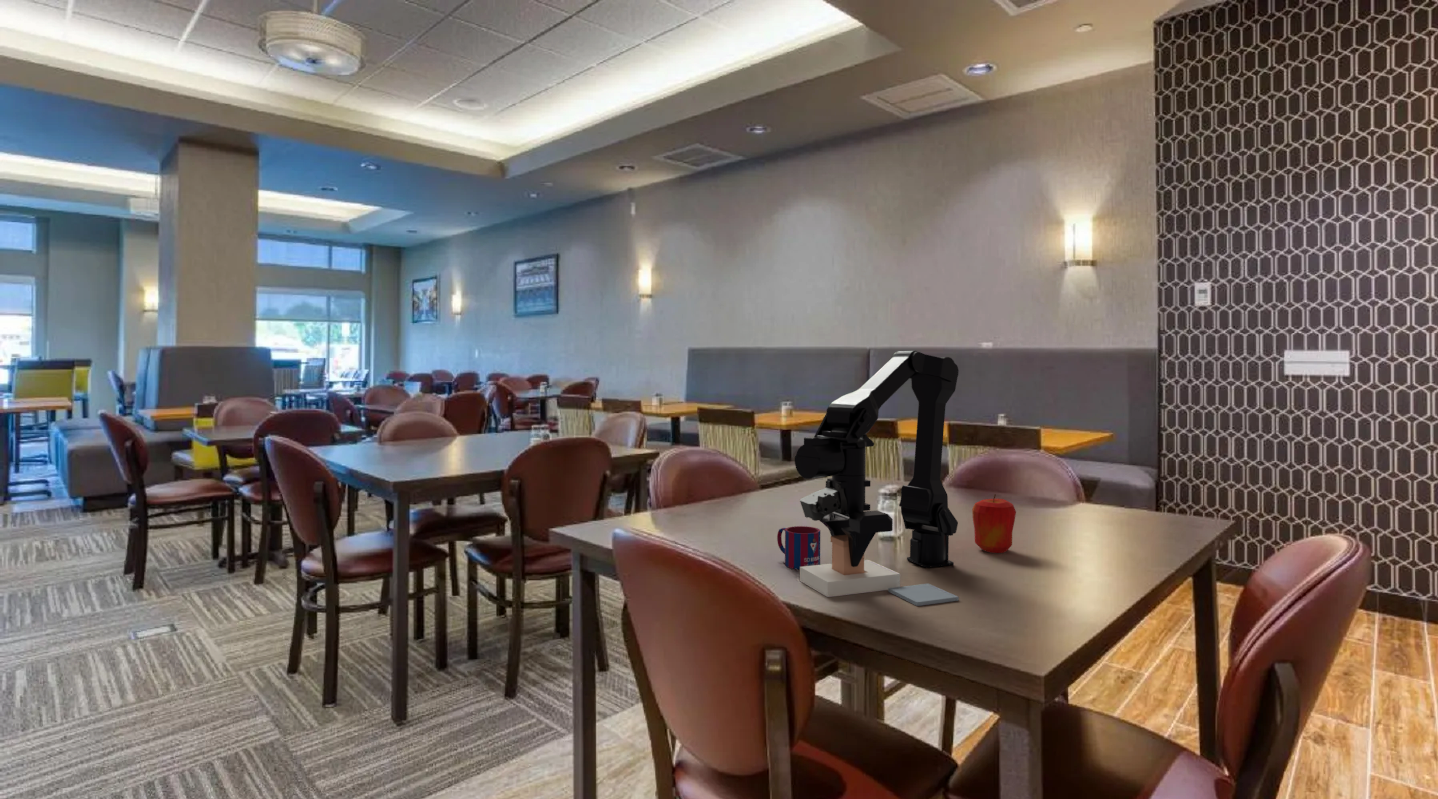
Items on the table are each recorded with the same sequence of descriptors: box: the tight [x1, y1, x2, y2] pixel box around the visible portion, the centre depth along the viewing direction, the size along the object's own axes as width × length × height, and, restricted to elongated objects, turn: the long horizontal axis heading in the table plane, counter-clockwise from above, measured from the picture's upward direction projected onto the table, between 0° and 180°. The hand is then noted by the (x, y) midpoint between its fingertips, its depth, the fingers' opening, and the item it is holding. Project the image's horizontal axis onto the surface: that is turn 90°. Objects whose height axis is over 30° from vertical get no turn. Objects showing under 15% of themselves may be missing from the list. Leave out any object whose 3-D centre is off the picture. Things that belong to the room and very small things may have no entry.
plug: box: [830, 535, 865, 575], centre depth 128 cm, size 4×4×8 cm
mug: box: [776, 525, 821, 570], centre depth 143 cm, size 7×10×7 cm
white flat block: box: [799, 559, 901, 598], centre depth 128 cm, size 14×10×2 cm
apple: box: [971, 494, 1017, 554], centre depth 152 cm, size 9×8×12 cm
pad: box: [887, 583, 960, 607], centre depth 122 cm, size 8×8×1 cm
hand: (847, 563), depth 128 cm, fingers closed on plug, 4 cm apart
